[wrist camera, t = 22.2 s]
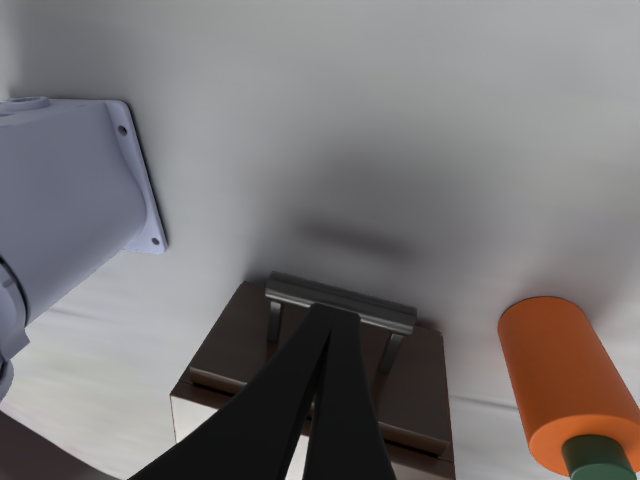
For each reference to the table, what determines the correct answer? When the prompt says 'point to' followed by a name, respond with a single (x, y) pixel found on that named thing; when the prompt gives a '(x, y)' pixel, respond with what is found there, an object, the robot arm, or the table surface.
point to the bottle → (569, 392)
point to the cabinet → (201, 403)
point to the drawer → (377, 342)
